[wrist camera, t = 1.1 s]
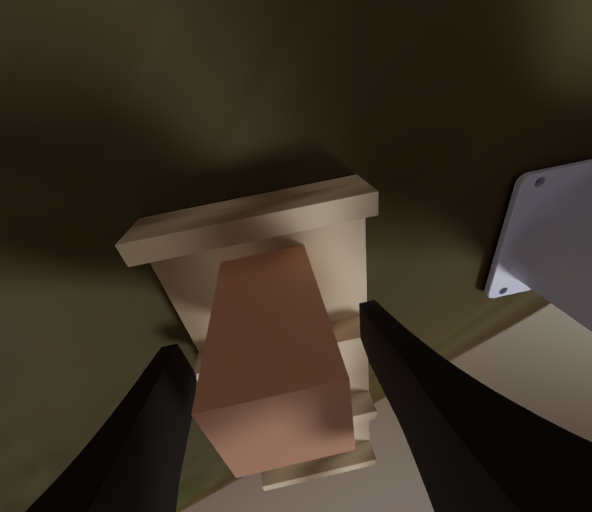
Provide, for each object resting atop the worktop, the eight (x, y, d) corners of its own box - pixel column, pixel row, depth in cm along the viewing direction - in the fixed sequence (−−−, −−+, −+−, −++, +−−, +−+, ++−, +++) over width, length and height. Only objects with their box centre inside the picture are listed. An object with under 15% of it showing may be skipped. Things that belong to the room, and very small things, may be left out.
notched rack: (356, 174, 12) (378, 191, 10) (365, 433, 26) (376, 464, 23) (139, 218, 12) (114, 245, 10) (263, 457, 25) (264, 490, 23)
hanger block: (304, 244, 13) (349, 378, 7) (314, 306, 15) (355, 449, 9) (220, 262, 12) (191, 414, 7) (243, 321, 15) (236, 478, 9)
